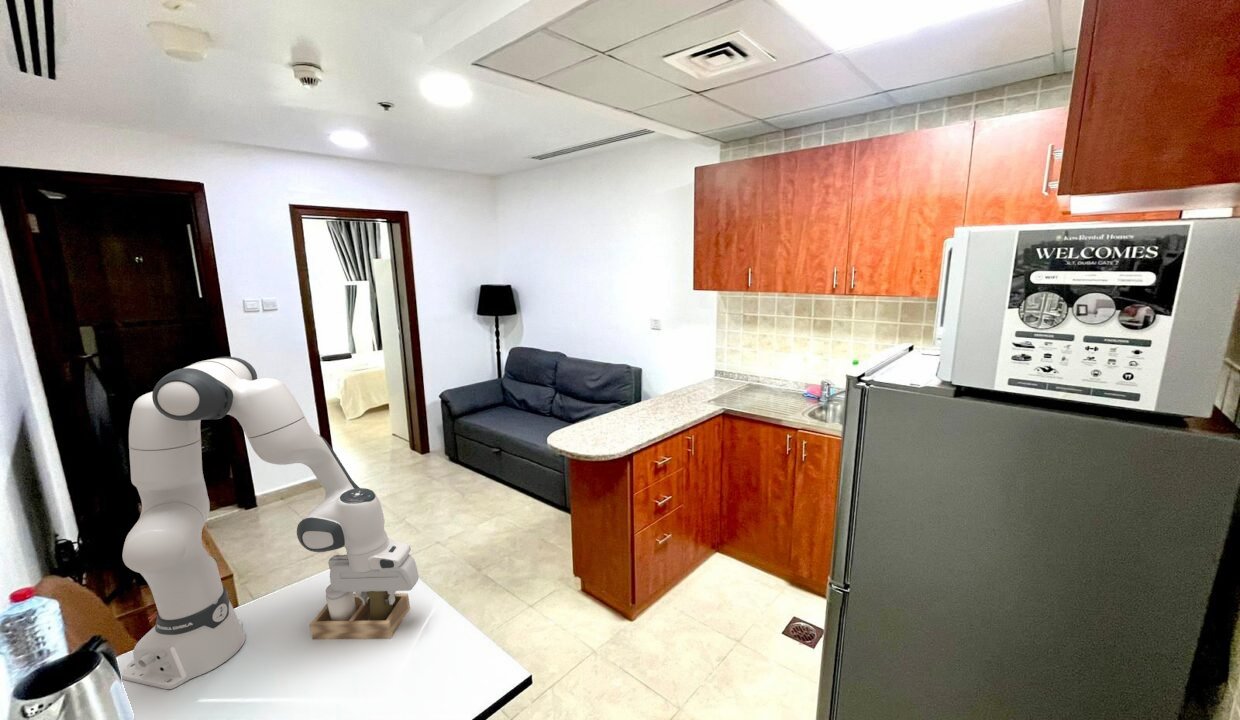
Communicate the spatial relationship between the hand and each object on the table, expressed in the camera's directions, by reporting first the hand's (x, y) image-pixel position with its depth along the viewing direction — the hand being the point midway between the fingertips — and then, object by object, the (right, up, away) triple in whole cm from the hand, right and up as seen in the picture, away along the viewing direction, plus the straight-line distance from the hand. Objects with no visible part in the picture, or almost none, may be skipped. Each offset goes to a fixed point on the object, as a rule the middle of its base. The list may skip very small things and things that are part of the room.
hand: (379, 603), depth 116 cm
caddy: (-5, -6, +1) cm, 8 cm away
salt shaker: (-9, -6, +1) cm, 11 cm away
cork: (0, -5, +2) cm, 6 cm away
